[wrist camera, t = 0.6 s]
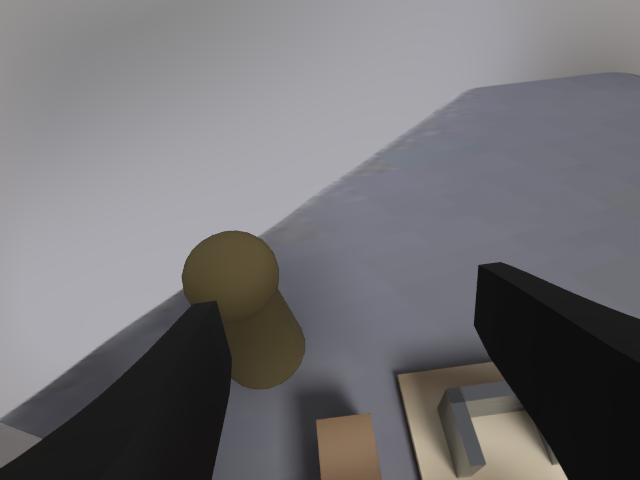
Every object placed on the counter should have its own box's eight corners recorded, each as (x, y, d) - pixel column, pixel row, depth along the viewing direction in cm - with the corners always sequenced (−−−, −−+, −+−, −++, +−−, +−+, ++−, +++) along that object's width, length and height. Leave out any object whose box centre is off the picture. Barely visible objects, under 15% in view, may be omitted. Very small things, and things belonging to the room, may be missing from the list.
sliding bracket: (566, 463, 22) (595, 449, 19) (457, 478, 22) (470, 466, 19) (535, 394, 24) (556, 373, 22) (436, 408, 24) (446, 388, 22)
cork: (283, 298, 31) (254, 199, 23) (320, 361, 27) (301, 271, 19) (212, 334, 30) (152, 242, 21) (240, 406, 26) (182, 330, 18)
